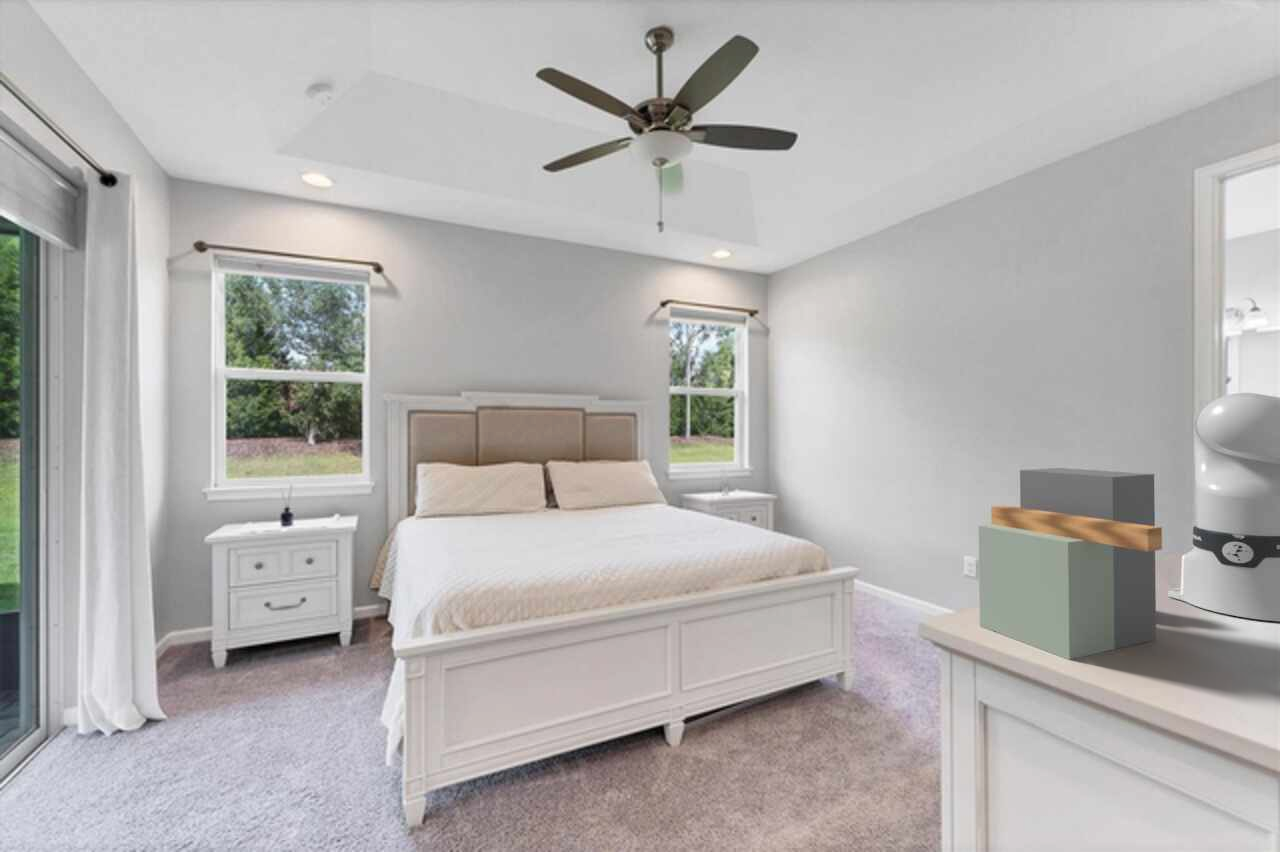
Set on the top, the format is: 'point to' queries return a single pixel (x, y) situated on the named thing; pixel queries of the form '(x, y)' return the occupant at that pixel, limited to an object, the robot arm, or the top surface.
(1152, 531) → the orange bar
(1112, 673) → the top surface
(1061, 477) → the stepped stand
